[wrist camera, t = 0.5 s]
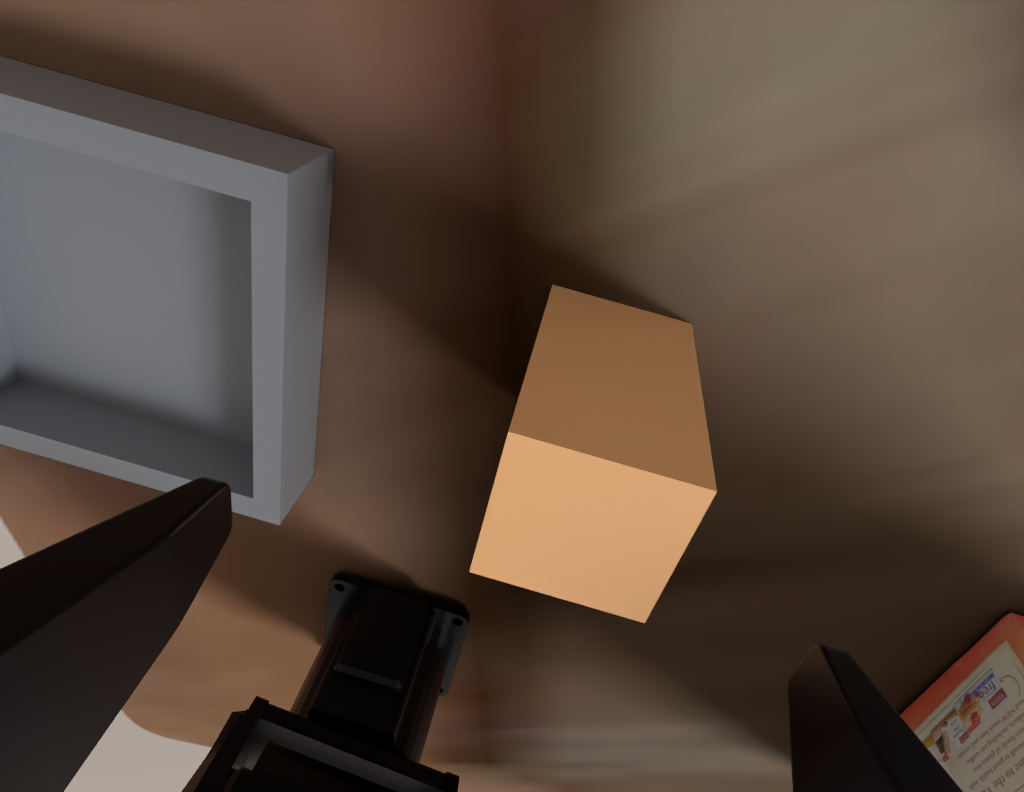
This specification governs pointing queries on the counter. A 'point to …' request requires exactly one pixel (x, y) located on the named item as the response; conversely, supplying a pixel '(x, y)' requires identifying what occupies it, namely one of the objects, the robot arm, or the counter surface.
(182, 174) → the block holder
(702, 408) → the plain tan block
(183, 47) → the counter surface
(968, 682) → the cracker box
